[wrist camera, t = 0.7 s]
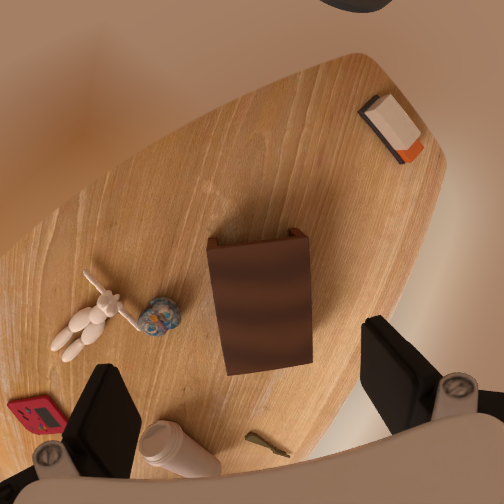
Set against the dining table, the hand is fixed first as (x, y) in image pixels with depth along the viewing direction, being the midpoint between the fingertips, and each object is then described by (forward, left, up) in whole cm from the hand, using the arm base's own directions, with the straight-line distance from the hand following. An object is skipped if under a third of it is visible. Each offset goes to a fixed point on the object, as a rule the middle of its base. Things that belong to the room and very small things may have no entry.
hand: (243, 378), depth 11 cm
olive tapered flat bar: (+44, +3, -31) cm, 54 cm away
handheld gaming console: (+36, -52, -31) cm, 71 cm away
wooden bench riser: (+11, +4, -32) cm, 34 cm away
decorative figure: (+18, -31, -30) cm, 47 cm away
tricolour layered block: (-11, +25, -32) cm, 42 cm away
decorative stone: (+12, -11, -32) cm, 36 cm away
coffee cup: (+47, -10, -29) cm, 56 cm away
